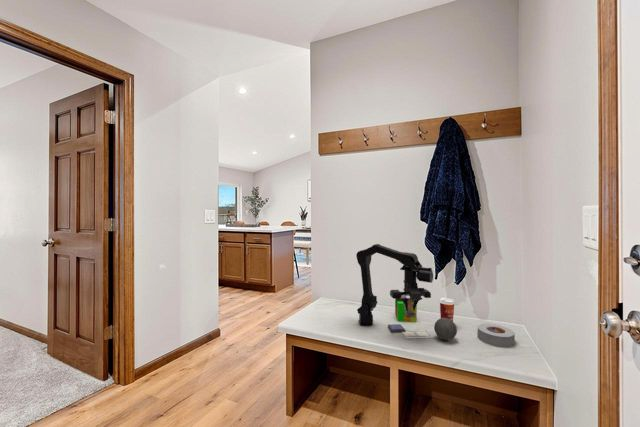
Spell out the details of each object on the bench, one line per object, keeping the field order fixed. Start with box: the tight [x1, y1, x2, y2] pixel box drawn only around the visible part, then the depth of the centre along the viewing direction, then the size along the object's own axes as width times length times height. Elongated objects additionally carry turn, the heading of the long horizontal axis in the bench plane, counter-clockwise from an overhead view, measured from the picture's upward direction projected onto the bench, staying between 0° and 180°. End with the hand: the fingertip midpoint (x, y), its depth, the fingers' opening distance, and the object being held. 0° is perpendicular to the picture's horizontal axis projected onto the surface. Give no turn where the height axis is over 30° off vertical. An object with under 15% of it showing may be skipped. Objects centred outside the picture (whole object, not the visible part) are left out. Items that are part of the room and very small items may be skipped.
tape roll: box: [477, 323, 516, 348], centre depth 147 cm, size 15×15×5 cm
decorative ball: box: [433, 317, 458, 341], centre depth 148 cm, size 10×10×10 cm
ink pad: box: [387, 323, 406, 334], centre depth 159 cm, size 7×7×2 cm
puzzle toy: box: [394, 297, 418, 323], centre depth 174 cm, size 10×10×10 cm
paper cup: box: [439, 297, 456, 322], centre depth 163 cm, size 8×8×14 cm
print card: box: [400, 329, 433, 339], centre depth 153 cm, size 13×8×1 cm, turn 94°
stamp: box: [405, 297, 416, 318], centre depth 152 cm, size 4×4×9 cm
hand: (410, 311), depth 152 cm, fingers closed on stamp, 3 cm apart
